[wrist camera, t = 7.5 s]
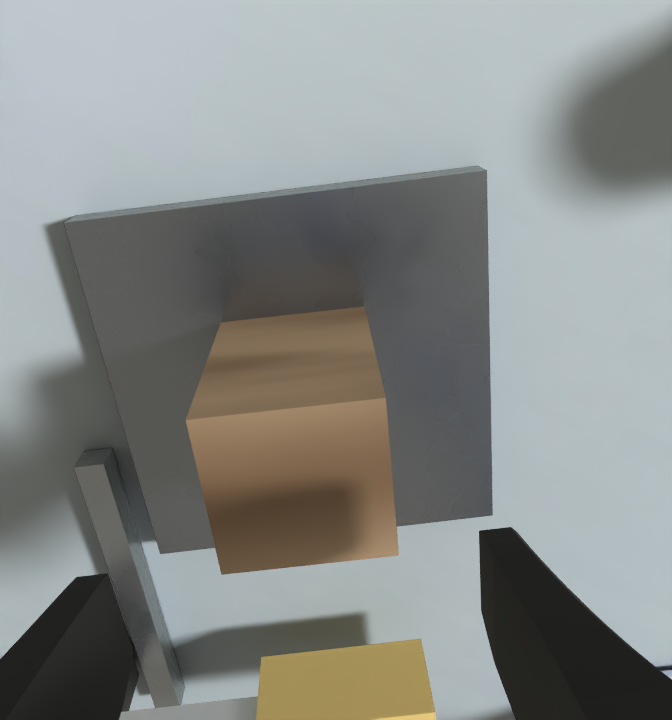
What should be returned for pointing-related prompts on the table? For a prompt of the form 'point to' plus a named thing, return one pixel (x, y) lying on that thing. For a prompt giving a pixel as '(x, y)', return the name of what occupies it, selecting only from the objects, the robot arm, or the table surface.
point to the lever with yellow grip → (320, 688)
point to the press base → (277, 298)
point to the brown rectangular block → (294, 442)
